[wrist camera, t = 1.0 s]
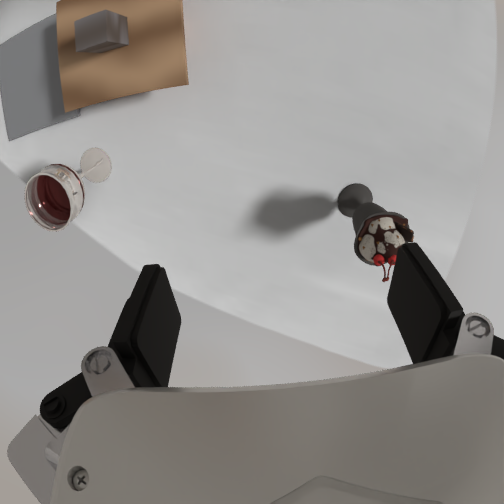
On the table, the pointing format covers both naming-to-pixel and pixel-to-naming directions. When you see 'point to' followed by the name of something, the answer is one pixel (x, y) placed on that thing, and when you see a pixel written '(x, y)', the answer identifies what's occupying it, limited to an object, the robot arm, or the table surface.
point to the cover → (119, 48)
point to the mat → (32, 80)
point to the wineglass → (63, 190)
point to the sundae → (374, 227)
